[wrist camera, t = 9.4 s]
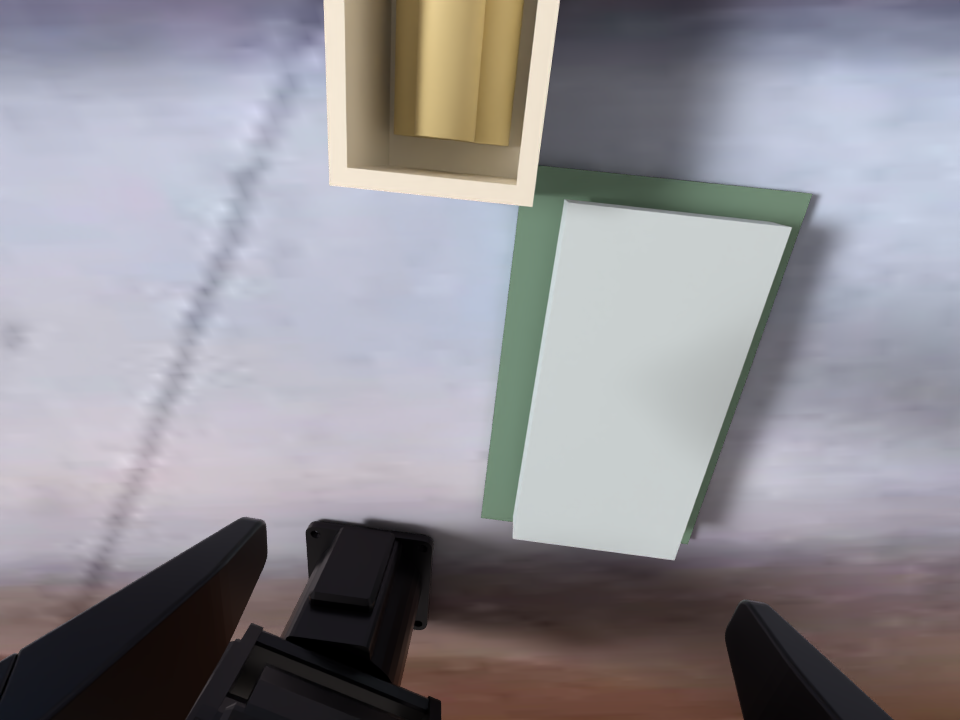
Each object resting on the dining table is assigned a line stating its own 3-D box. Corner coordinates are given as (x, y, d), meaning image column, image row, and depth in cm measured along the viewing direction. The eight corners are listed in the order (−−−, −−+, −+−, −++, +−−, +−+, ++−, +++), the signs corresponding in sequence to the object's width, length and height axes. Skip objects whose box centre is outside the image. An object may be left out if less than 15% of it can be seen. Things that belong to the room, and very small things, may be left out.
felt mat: (684, 538, 23) (687, 544, 23) (481, 512, 23) (481, 518, 23) (806, 193, 17) (812, 193, 16) (524, 163, 17) (524, 164, 17)
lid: (660, 523, 22) (674, 560, 20) (513, 504, 23) (512, 538, 21) (759, 219, 17) (791, 227, 15) (562, 197, 17) (568, 202, 15)
